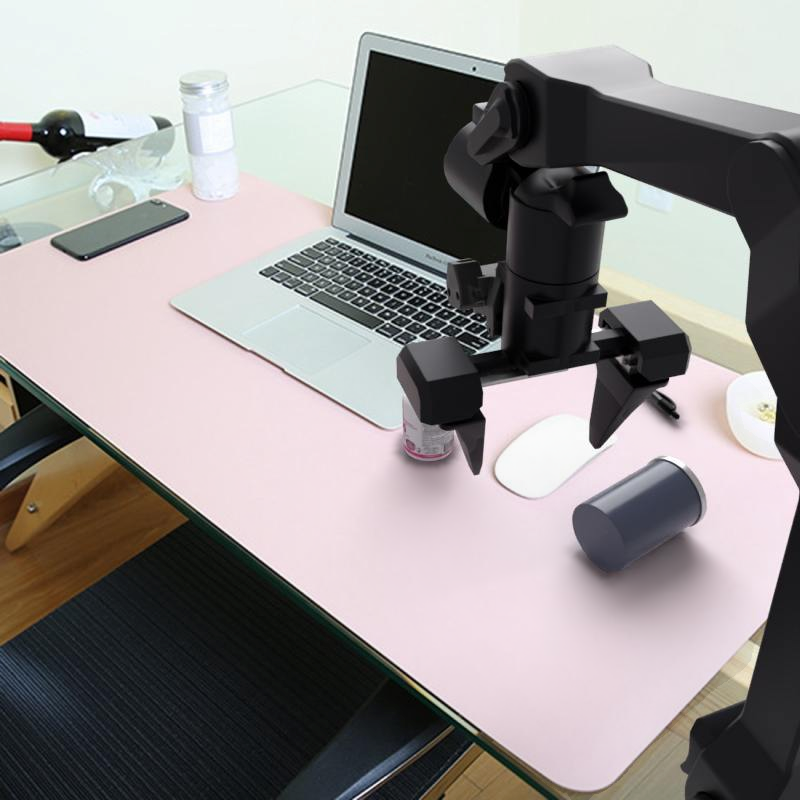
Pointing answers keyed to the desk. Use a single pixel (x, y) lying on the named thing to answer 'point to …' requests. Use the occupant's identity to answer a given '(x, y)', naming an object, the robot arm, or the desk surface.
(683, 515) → the navy blue tumbler
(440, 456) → the pill bottle
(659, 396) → the pen
